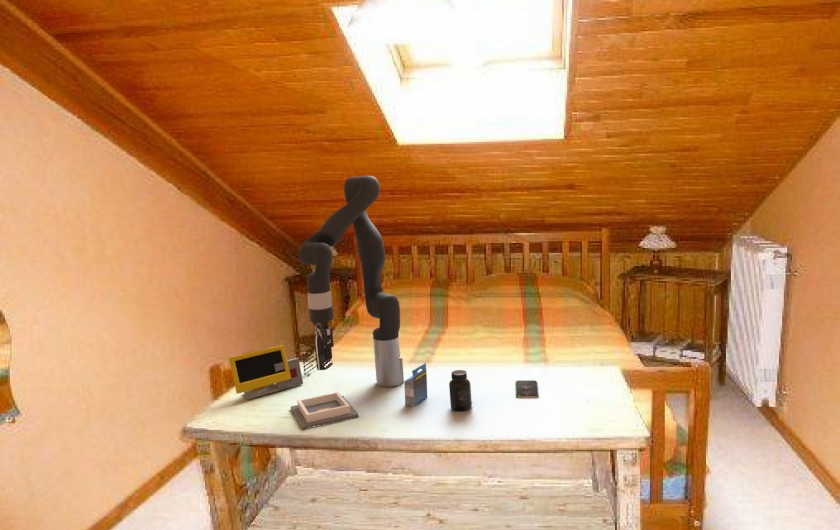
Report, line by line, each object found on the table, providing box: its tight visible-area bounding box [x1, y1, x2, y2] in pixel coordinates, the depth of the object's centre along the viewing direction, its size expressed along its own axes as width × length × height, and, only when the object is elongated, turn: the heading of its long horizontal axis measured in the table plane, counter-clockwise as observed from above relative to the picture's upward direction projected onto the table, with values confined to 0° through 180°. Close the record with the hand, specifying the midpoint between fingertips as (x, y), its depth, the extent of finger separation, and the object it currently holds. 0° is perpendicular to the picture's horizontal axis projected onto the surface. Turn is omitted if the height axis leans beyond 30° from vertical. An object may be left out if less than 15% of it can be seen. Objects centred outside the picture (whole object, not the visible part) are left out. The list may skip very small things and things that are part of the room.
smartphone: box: [514, 379, 540, 399], centre depth 209 cm, size 8×1×15 cm
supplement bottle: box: [448, 369, 473, 413], centre depth 197 cm, size 7×7×12 cm
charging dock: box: [290, 391, 360, 430], centre depth 200 cm, size 18×18×4 cm
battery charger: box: [313, 333, 334, 371], centre depth 195 cm, size 7×4×11 cm, turn 164°
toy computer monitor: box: [228, 344, 291, 400], centre depth 221 cm, size 20×8×16 cm, turn 125°
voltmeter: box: [274, 347, 317, 391], centre depth 233 cm, size 27×11×10 cm, turn 161°
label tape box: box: [403, 362, 428, 407], centre depth 205 cm, size 9×4×12 cm, turn 150°
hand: (325, 355), depth 196 cm, fingers closed on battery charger, 7 cm apart
